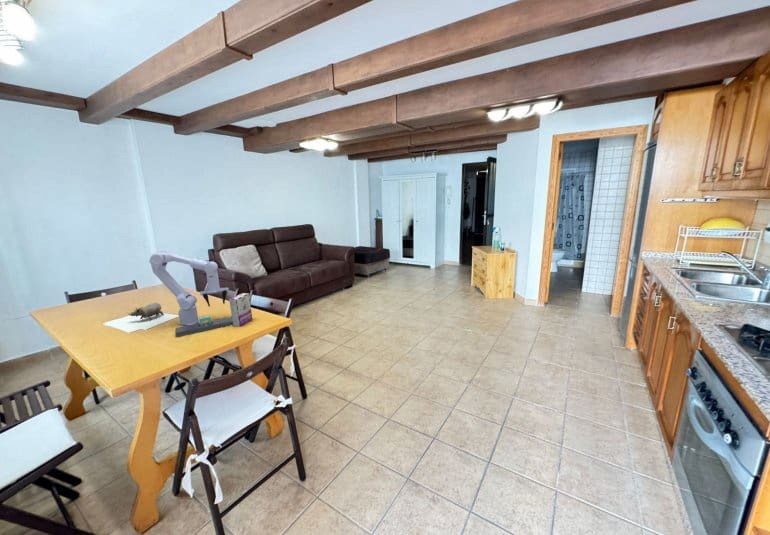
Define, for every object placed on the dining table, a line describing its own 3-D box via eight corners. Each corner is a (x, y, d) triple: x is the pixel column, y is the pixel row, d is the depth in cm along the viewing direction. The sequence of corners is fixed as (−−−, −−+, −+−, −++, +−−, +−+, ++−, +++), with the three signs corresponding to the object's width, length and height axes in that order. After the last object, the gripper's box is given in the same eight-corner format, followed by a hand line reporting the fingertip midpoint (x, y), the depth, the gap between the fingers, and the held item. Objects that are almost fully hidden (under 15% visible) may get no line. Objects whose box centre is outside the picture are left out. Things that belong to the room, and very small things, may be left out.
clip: (201, 330, 164) (199, 319, 162) (200, 328, 166) (199, 317, 164) (211, 327, 166) (210, 317, 165) (211, 326, 168) (209, 315, 167)
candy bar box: (245, 319, 179) (242, 292, 175) (252, 319, 178) (249, 293, 174) (232, 326, 168) (228, 298, 164) (240, 327, 167) (236, 299, 163)
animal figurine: (171, 312, 186) (149, 296, 178) (152, 330, 179) (128, 314, 171) (167, 310, 191) (147, 295, 183) (149, 327, 184) (126, 313, 176)
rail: (175, 337, 155) (175, 332, 155) (176, 332, 162) (175, 327, 161) (235, 324, 170) (234, 320, 170) (233, 320, 177) (232, 316, 176)
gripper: (199, 286, 166) (202, 309, 169) (228, 282, 174) (231, 304, 177) (198, 283, 172) (202, 305, 175) (226, 279, 180) (229, 301, 183)
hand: (216, 304), depth 176 cm, fingers open, 7 cm apart
